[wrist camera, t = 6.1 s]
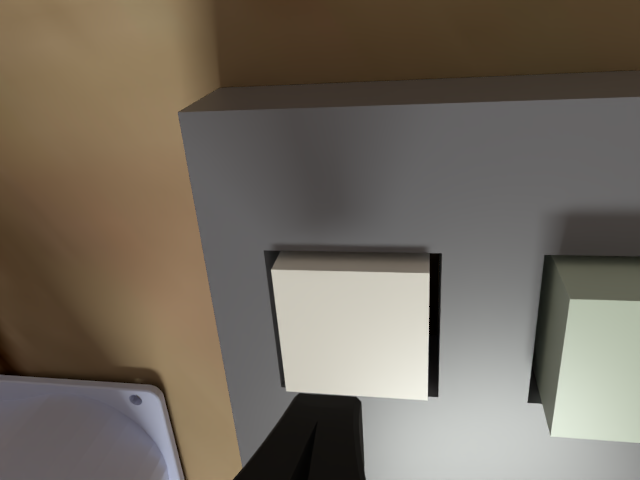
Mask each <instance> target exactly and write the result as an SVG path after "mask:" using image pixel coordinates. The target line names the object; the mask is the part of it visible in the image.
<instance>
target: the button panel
mask: <svg viewBox="0 0 640 480" xmlns="http://www.w3.org/2000/svg"><path fill="white" fill-rule="evenodd" d="M178 116H179V122H180V127H181V133H182V138H183V144H184V149H185V155H186V160H187V166H188V171H189V177H190V182H191V188H192V193H193V199H194V204H195V210H196V215H197V221H198V226H199V232H200V237H201V242H202V248H203V253H204V259H205V264H206V270H207V275H208V281H209V286H210V292H211V297H212V303H213V308H214V314H215V319H216V325H217V330H218V336H219V341H220V347H221V352H222V358H223V363H224V369H225V374H226V380H227V385H228V391H229V396H230V402H231V407H232V413H233V418H234V424H235V429H236V434H237V440H238V445H239V451H240V456H241V462H242V467H244V466H245V465H246V463H247V462H248V461H249V460H250V458H251V457H252V456H253V454H254V453H255V452H256V451H257V449H258V448H259V447H260V445H261V444H262V443H263V442H264V440H265V439H266V438H267V436H268V435H269V433H270V432H271V431H272V429H273V428H274V427H275V425H276V424H277V422H278V421H279V419H280V418H281V417H282V415H283V414H284V412H285V411H286V409H287V408H288V406H289V405H290V403H291V402H292V400H293V399H294V397H295V396H296V395H297V394H299V393H304V392H289V391H286V385H285V377H284V369H283V361H282V353H281V345H280V337H279V329H278V321H277V313H276V305H275V297H274V289H273V281H272V273H271V269H272V267H273V265H274V263H275V261H276V259H277V257H278V255H279V253H280V251H334V252H396V253H439V279H438V322H437V335H429V345H428V401H427V400H412V399H396V398H381V397H366V396H356V397H357V398H358V399H359V400H360V401H361V403H362V423H363V442H364V462H365V466H364V471H365V477H366V480H640V443H632V442H619V441H605V440H591V439H578V438H564V437H551V436H550V433H549V429H548V425H547V421H546V417H545V413H544V409H543V405H542V401H541V397H540V393H539V390H538V386H537V382H536V378H535V374H534V370H533V366H532V358H533V350H534V341H535V332H536V324H537V315H538V306H539V298H540V289H541V280H542V271H543V263H544V255H584V256H640V70H636V71H612V72H588V73H564V74H540V75H516V76H492V77H468V78H444V79H420V80H396V81H372V82H348V83H324V84H300V85H276V86H252V87H228V88H218V89H217V90H215V91H213V92H211V93H210V94H208V95H206V96H205V97H203V98H201V99H200V100H198V101H196V102H194V103H193V104H191V105H189V106H188V107H186V108H184V109H183V110H181V111H179V112H178ZM308 394H319V393H308ZM324 395H335V394H324ZM340 396H350V395H340Z"/></svg>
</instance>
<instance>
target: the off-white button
mask: <svg viewBox="0 0 640 480" xmlns="http://www.w3.org/2000/svg"><path fill="white" fill-rule="evenodd" d="M271 273H272V281H273V289H274V297H275V305H276V313H277V321H278V329H279V337H280V345H281V353H282V361H283V369H284V377H285V385H286V391H289V392H304V393H319V394H335V395H350V396H366V397H381V398H396V399H412V400H427V401H428V345H429V278H430V253H396V252H334V251H280V253H279V255H278V257H277V259H276V261H275V263H274V265H273V267H272V269H271Z"/></svg>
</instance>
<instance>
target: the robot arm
mask: <svg viewBox="0 0 640 480" xmlns="http://www.w3.org/2000/svg"><path fill="white" fill-rule="evenodd" d="M136 395H137V396H139V397H140V398H139V397H137V396H136ZM364 466H365V462H364V442H363V423H362V403H361V401H360V400H359V399H358V398H357V397H356V396H340V395H324V394H308V393H299V394H297V395H296V396H295V397H294V399H293V400H292V402H291V403H290V405H289V406H288V408H287V409H286V411H285V412H284V414H283V415H282V417H281V418H280V419H279V421H278V422H277V424H276V425H275V427H274V428H273V429H272V431H271V432H270V433H269V435H268V436H267V438H266V439H265V440H264V442H263V443H262V444H261V445H260V447H259V448H258V449H257V451H256V452H255V453H254V454H253V456H252V457H251V458H250V460H249V461H248V462H247V463H246V465H245V466H244V467H243V468H242V470H241V471H240V472H239V473H238V474H237V476H236V477H235V478H234V479H233V480H366V477H365V471H364ZM0 480H184V476H183V472H182V467H181V463H180V459H179V455H178V451H177V447H176V443H175V439H174V435H173V431H172V427H171V423H170V419H169V415H168V411H167V407H166V403H165V399H164V395H163V393H162V391H161V390H160V389H159V388H157V387H156V386H153V385H148V384H133V383H117V382H102V381H87V380H72V379H56V378H41V377H26V376H11V375H0Z"/></svg>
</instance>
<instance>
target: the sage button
mask: <svg viewBox="0 0 640 480" xmlns="http://www.w3.org/2000/svg"><path fill="white" fill-rule="evenodd" d="M532 366H533V370H534V374H535V378H536V382H537V386H538V390H539V393H540V397H541V401H542V405H543V409H544V413H545V417H546V421H547V425H548V429H549V433H550V436H551V437H564V438H578V439H591V440H605V441H619V442H632V443H640V256H584V255H544V263H543V271H542V280H541V289H540V298H539V306H538V315H537V324H536V332H535V341H534V350H533V358H532Z"/></svg>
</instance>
